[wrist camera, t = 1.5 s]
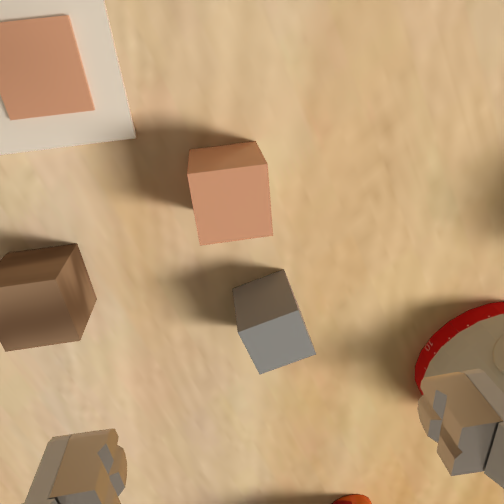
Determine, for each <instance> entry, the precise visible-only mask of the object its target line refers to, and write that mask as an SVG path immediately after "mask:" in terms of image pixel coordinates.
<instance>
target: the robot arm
mask: <svg viewBox="0 0 504 504" xmlns="http://www.w3.org/2000/svg"><path fill="white" fill-rule="evenodd" d="M420 388H421V390H422V392H423V393H424V394H423V395H422V397H421V398H420V399H419V400H418V413H419V418H420V421H421V424H422V426H423V428H424V430H425V432H426V434H427V436H428V437H430V438H431V439H433V440H434V441H436V442H437V443H438V447H437V453H438V455H439V456H440V458H441V460H442V462H443V463H444V465H445V467H446V468H447V470H448V472H449V473H450V475H451V476H455V475H461V474H468V473H475V472H482V471H485V472H484V473H485V474H486V475H487V476H488V477H490V478H491V479H492V480H494V481H495V482H496V483H497V484H499V485H500V486H501V487H503V488H504V393H503V392H502V391H501V390H500V389H499V388H498V386H497V385H496V384H495V383H494V382H493V381H492V380H491V378H490V377H489V376H488V375H487V374H486V373H485V372H484V371H483V370H481V369H473V370H467V371H461V372H453V373H447V374H441V375H436V376H430V377H424V378H423V380H422V381H421V386H420ZM117 442H118V435H117V432H116V430H115V429H106V430H99V431H91V432H84V433H76V434H70V435H63V436H57V437H52V439H51V440H50V441H49V442H48V444H47V446H46V449H45V451H44V454H43V457H42V459H41V462H40V464H39V467H38V469H37V472H36V474H35V477H34V480H33V482H32V485H31V487H30V490H29V492H28V495H27V498H26V500H25V503H23V504H121V503H120V500H119V498H118V496H119V495H120V493H121V492H122V491H123V489H124V488H125V485H126V478H127V461H126V455H125V452H124V449H123V448H122V447H120V446H118V445H117Z"/></svg>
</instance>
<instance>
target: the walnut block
mask: <svg viewBox="0 0 504 504" xmlns="http://www.w3.org/2000/svg"><path fill="white" fill-rule="evenodd" d="M96 300H97V298H96V295H95V292H94V290H93V287H92V284H91V281H90V278H89V275H88V273H87V270H86V267H85V264H84V261H83V259H82V256H81V253H80V250H79V247H78V244H70V245H63V246H55V247H48V248H41V249H33V250H26V251H19V252H11V253H7V254H6V255H5V256H4V257H3V258H2V260H1V261H0V342H1V344H2V346H3V348H4V350H5V351H13V350H20V349H27V348H33V347H40V346H47V345H54V344H60V343H67V342H74V341H80V340H81V337H82V335H83V332H84V330H85V327H86V325H87V322H88V320H89V317H90V315H91V312H92V310H93V307H94V305H95V302H96Z"/></svg>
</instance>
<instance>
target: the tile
mask: <svg viewBox="0 0 504 504" xmlns="http://www.w3.org/2000/svg"><path fill="white" fill-rule="evenodd" d="M134 138H136V132H135V128H134V124H133V120H132V115H131V111H130V107H129V103H128V99H127V94H126V90H125V86H124V82H123V77H122V73H121V69H120V65H119V60H118V56H117V52H116V48H115V44H114V39H113V35H112V31H111V27H110V22H109V18H108V14H107V10H106V5H105V1H104V0H0V155H4V154H12V153H21V152H29V151H37V150H45V149H53V148H61V147H69V146H77V145H85V144H94V143H102V142H110V141H118V140H126V139H134Z"/></svg>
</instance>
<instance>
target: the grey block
mask: <svg viewBox="0 0 504 504" xmlns="http://www.w3.org/2000/svg"><path fill="white" fill-rule="evenodd" d="M233 297H234V305H235V313H236V322H237V330H238V334H239V336H240V338H241V339H242V341H243V343H244V345H245V347H246V349H247V351H248V353H249V355H250V357H251V359H252V361H253V363H254V364H255V366H256V368H257V370H258V372H259V374H262V373H265V372H268V371H271V370H274V369H276V368H279V367H282V366H285V365H287V364H290V363H293V362H296V361H299V360H301V359H304V358H307V357H310V356H313V355H315V354H316V353H315V350H314V347H313V344H312V342H311V339H310V336H309V333H308V331H307V328H306V325H305V322H304V320H303V317H302V314H301V311H300V309H299V306H298V304H297V301H296V299H295V296H294V293H293V291H292V288H291V286H290V283H289V281H288V278H287V276H286V273H285V271H284V269H283V270H281V271H278V272H276V273H273V274H270V275H268V276H265V277H262V278H260V279H257V280H254V281H252V282H249V283H247V284H244V285H241V286H239V287H236V288H233Z"/></svg>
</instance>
